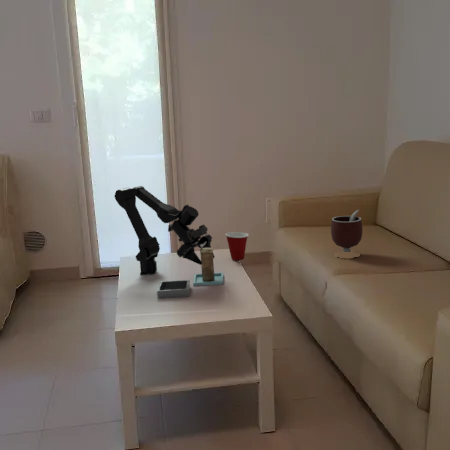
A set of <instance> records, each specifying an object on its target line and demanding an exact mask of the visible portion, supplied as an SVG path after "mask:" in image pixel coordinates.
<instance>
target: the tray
mask: <svg viewBox="0 0 450 450" xmlns="http://www.w3.org/2000/svg"><path fill="white" fill-rule="evenodd" d="M214 278H215V280H214V281H211V282H204V281H202V273H194V276H193V283H192V286H194V287H195V286H196V287H197V286H213V285H214V286H215V285H224V272H214Z"/></svg>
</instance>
